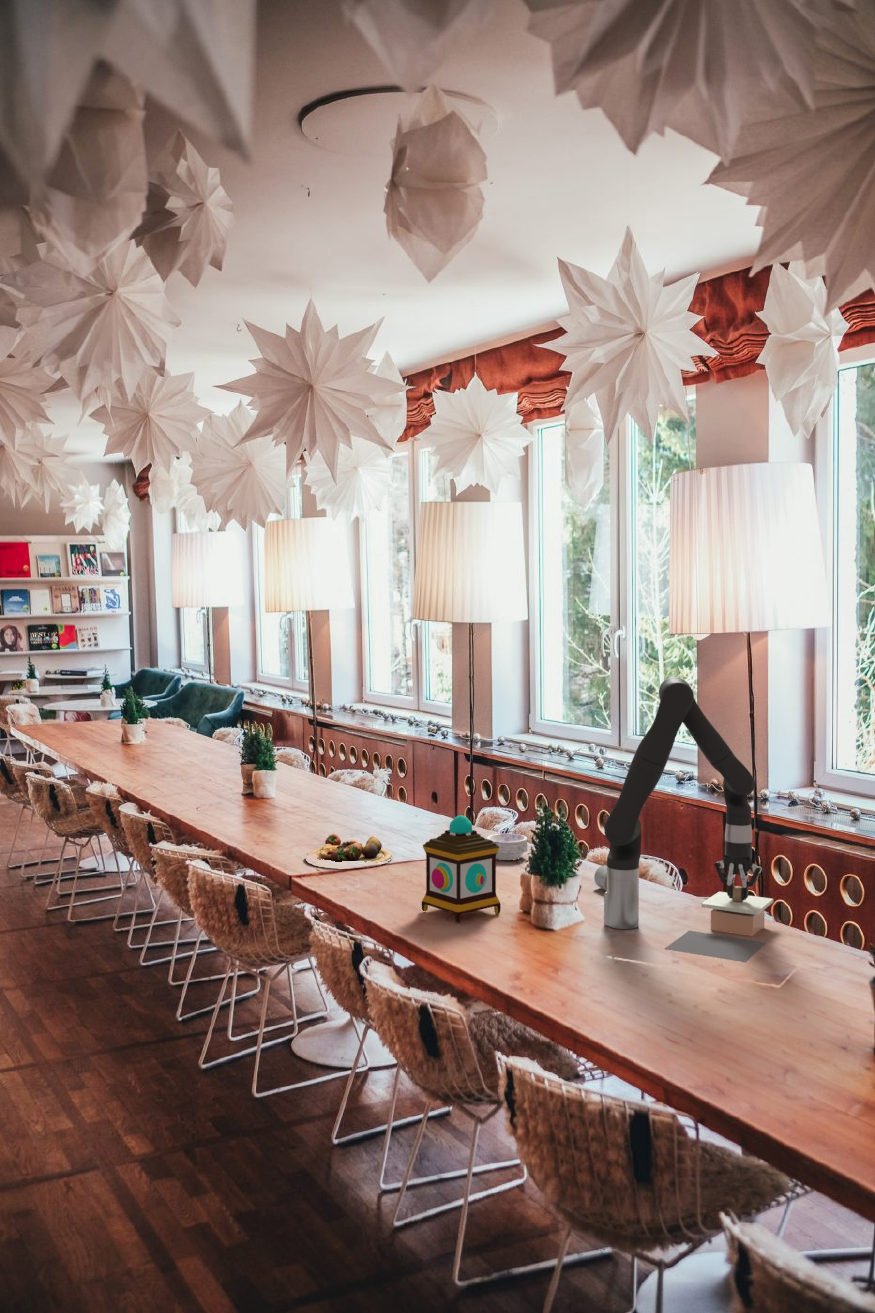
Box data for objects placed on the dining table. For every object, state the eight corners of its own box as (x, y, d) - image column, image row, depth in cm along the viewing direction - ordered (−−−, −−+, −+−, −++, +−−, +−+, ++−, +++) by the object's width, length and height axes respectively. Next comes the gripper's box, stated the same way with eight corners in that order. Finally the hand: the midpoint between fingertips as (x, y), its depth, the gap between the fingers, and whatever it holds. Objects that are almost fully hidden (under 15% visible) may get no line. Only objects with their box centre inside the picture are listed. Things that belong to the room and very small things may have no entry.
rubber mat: (664, 950, 303) (664, 948, 303) (689, 932, 320) (689, 930, 320) (745, 964, 292) (745, 962, 292) (766, 944, 309) (766, 942, 309)
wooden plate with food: (298, 854, 424) (298, 832, 424) (380, 847, 434) (380, 826, 433) (314, 875, 394) (313, 852, 393) (401, 868, 403) (401, 845, 403)
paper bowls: (481, 861, 410) (481, 840, 410) (492, 852, 425) (492, 832, 424) (522, 864, 406) (522, 842, 405) (531, 855, 420) (531, 834, 420)
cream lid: (701, 907, 320) (701, 889, 320) (719, 894, 334) (719, 878, 333) (757, 915, 312) (757, 897, 311) (773, 902, 325) (773, 885, 325)
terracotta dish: (710, 931, 321) (710, 910, 321) (723, 921, 331) (723, 901, 331) (752, 938, 315) (752, 916, 315) (764, 927, 325) (764, 907, 325)
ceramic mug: (604, 894, 363) (605, 871, 362) (593, 888, 370) (594, 865, 370) (634, 892, 366) (634, 869, 366) (622, 886, 374) (623, 863, 373)
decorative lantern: (457, 926, 327) (456, 824, 326) (414, 912, 342) (414, 814, 341) (507, 914, 340) (507, 815, 338) (464, 901, 355) (464, 806, 354)
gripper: (710, 838, 322) (709, 898, 323) (759, 844, 315) (758, 905, 316) (718, 834, 329) (717, 892, 329) (766, 839, 321) (766, 899, 322)
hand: (737, 898), depth 323 cm, fingers closed on cream lid, 3 cm apart
